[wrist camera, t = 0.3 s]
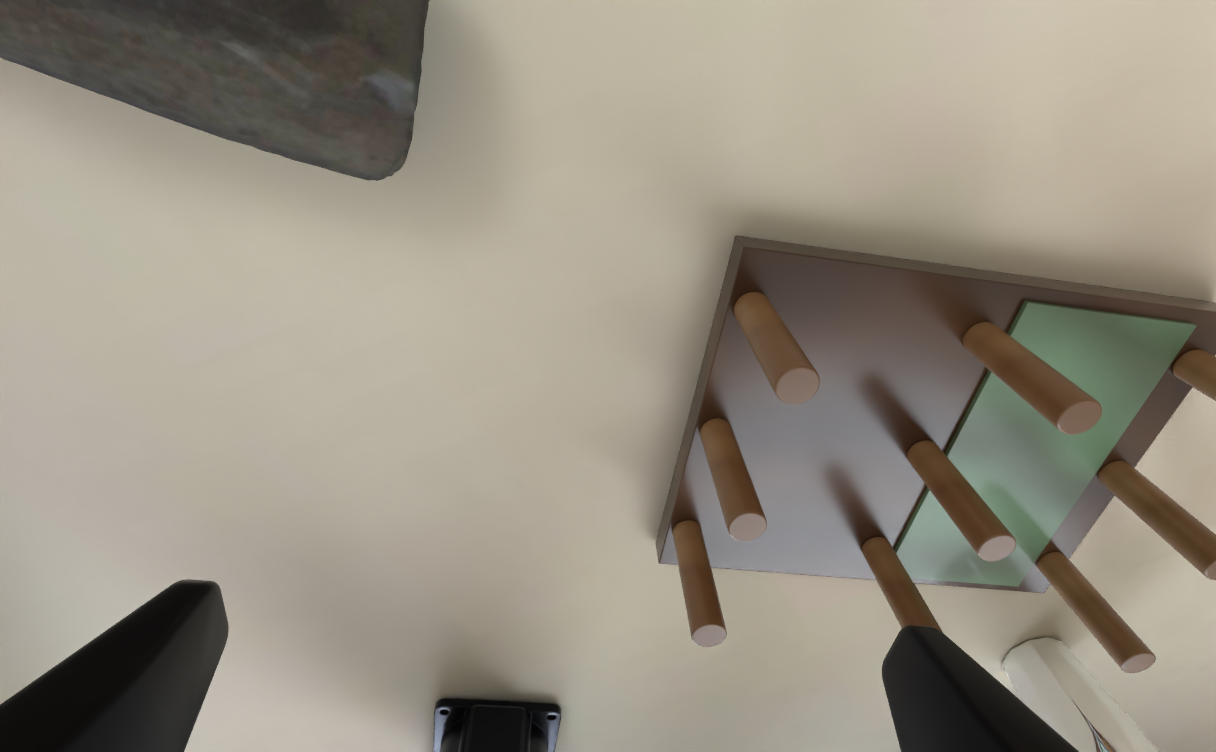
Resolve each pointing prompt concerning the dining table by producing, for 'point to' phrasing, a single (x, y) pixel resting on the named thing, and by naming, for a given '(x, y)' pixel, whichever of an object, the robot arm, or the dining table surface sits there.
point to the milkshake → (1071, 699)
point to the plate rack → (927, 430)
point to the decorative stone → (244, 68)
